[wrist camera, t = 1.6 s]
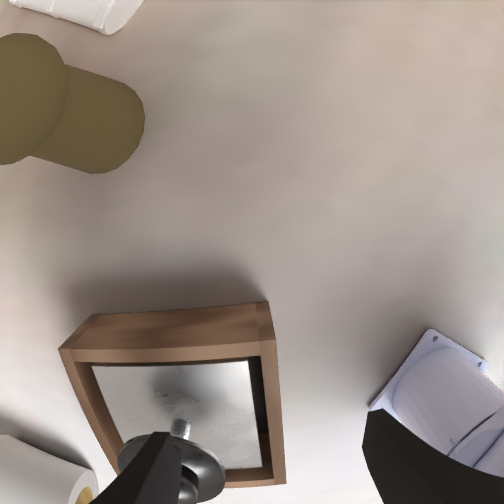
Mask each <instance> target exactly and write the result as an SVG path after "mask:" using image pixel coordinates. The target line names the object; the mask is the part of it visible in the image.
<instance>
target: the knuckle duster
mask: <svg viewBox="0 0 504 504" xmlns="http://www.w3.org/2000/svg"><path fill="white" fill-rule="evenodd" d="M9 1H10V3H11V4H12V5H15V6H17V7H19V8H21V7H24V8H28V9H32V10H35V11H39V12H42V13H46V14H49V15H51V16H53V17H55V18H63V19H66V20H69V21H72V22H75V23H78V24H81V25H84V26H87V27H89V28H92V29H95V30H98V31H99V32H100V33H101V34H104V35H111V34H113V33H115V32H117V31H118V30H119V29H121V28H122V27H123V26H124V25H125V24H126V22H127V21H128V20H129V19H130V17H131V16H132V15H133V14H134V12H135V11H136V10H137V9H138V7H139V6H140V5H141V4H142V2H143V1H144V0H9Z"/></svg>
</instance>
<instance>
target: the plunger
mask: <svg viewBox="0 0 504 504" xmlns="http://www.w3.org/2000/svg"><path fill="white" fill-rule="evenodd" d="M92 369H93V371H94V374H95V377H96V380H97V382H98V385H99V387H100V390H101V392H102V395H103V397H104V400H105V402H106V405H107V407H108V410H109V412H110V414H111V417H112V419H113V421H114V423H115V426H116V428H117V430H118V432H119V434H120V436H121V438H122V441H123V443H124V445H123V446H122V448H121V451H120V453H119V456H118V460H117V464H118V468H119V470H120V472H122V471H123V470H124V469H125V467H126V466H127V465H128V464H129V463H130V461H131V460H132V459H133V458H134V457H135V455H136V454H137V453H138V451H139V450H140V449H141V447H142V446H143V445H144V443H145V442H146V441H147V439H148V438H149V437H150V435H151V434H152V433H153V432H154V431H157V432H170V434H171V437H172V440H173V443H174V445H175V448H176V451H177V454H178V456H179V459H180V462H181V464H182V472H181V487H180V493H179V498H178V503H177V504H197V503H200V502H204V501H208V500H210V499H213V498H214V497H216V496H217V495H219V494H220V493H221V492H222V490H223V489H224V486H225V469H241V468H256V467H262V457H261V450H260V443H259V436H258V429H257V422H256V415H255V407H254V400H253V392H252V385H251V377H250V370H249V362H248V357H237V358H225V359H211V360H195V361H174V362H135V363H110V362H94V364H93V365H92Z"/></svg>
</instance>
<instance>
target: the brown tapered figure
mask: <svg viewBox="0 0 504 504" xmlns="http://www.w3.org/2000/svg"><path fill="white" fill-rule="evenodd" d="M144 120H145V115H144V110H143V106H142V102H141V100H140V99H139V97H138V96H137V94H136V93H135V91H134V90H132V89H131V88H129V87H128V86H127V85H125V84H123V83H121V82H118V81H115V80H112V79H109V78H106V77H103V76H100V75H97V74H94V73H91V72H88V71H85V70H81V69H78V68H75V67H71V66H68V65H65V64H64V62H63V61H62V59H61V57H60V55H59V53H58V52H57V50H56V49H55V47H54V46H52V45H51V44H49V43H48V42H46V41H45V40H43V39H42V38H40V37H39V36H37V35H33V34H24V33H13V34H10V35H7V36H4V37H1V38H0V165H6V164H13V163H15V162H17V161H20V160H22V159H24V158H25V157H27V156H29V155H31V156H34V157H38V158H41V159H44V160H48V161H51V162H54V163H58V164H61V165H64V166H68V167H71V168H74V169H77V170H81V171H84V172H87V173H90V174H91V173H105V172H108V171H111V170H113V169H116V168H118V167H119V166H120V165H121V164H123V163H124V162H125V161H126V160H128V159H129V158H130V156H131V155H132V153H133V152H134V151H135V149H136V148H137V147H138V144H139V142H140V139H141V137H142V134H143V131H144Z"/></svg>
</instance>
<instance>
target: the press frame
mask: <svg viewBox="0 0 504 504" xmlns="http://www.w3.org/2000/svg"><path fill="white" fill-rule="evenodd" d="M58 351H59V353H60V356H61V359H62V362H63V364H64V367H65V369H66V372H67V375H68V377H69V380H70V382H71V384H72V387H73V389H74V392H75V394H76V396H77V398H78V401H79V403H80V405H81V407H82V410H83V412H84V414H85V416H86V418H87V420H88V422H89V424H90V426H91V428H92V430H93V432H94V434H95V436H96V438H97V440H98V442H99V444H100V446H101V448H102V449H103V451H104V453H105V455H106V457H107V458H108V460H109V462H110V464H111V465H112V467H113V469H114V471H115V472H116V474H117V476H118V475H119V474H120V473H121V472H120V470H119V468H118V464H117V460H118V456H119V453H120V451H121V448H122V446H123V445H124V443H123V441H122V438H121V436H120V434H119V432H118V430H117V428H116V426H115V423H114V421H113V419H112V417H111V414H110V412H109V410H108V407H107V405H106V402H105V400H104V397H103V395H102V392H101V390H100V387H99V385H98V382H97V380H96V377H95V374H94V371H93V369H92V365H93V364H94V362H110V363H135V362H174V361H195V360H211V359H225V358H237V357H248V356H259V355H261V364H262V373H263V382H264V391H265V401H266V410H267V419H268V428H269V432H262V433H258V436H259V443H260V450H261V457H262V467H256V468H241V469H225V486H224V488H243V487H258V486H269V485H279V484H286V469H285V454H284V440H283V426H282V412H281V398H280V385H279V372H278V360H277V347H276V338H275V332H274V327H273V322H272V317H271V312H270V307H269V302H258V303H249V304H239V305H228V306H217V307H206V308H194V309H181V310H168V311H154V312H138V313H120V314H100V315H91V316H90V317H89V318H88V319H87V320H86V321H85V322H84V323H83V324H82V325H81V326H80V327H79V328H78V329H77V330H76V331H75V332H74V333H73V334H72V335H71V336H70V337H69V338H68V339H67V340H66V341H65V342H64V343H63V344H62V345H61V346H60V347H59V348H58Z"/></svg>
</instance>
